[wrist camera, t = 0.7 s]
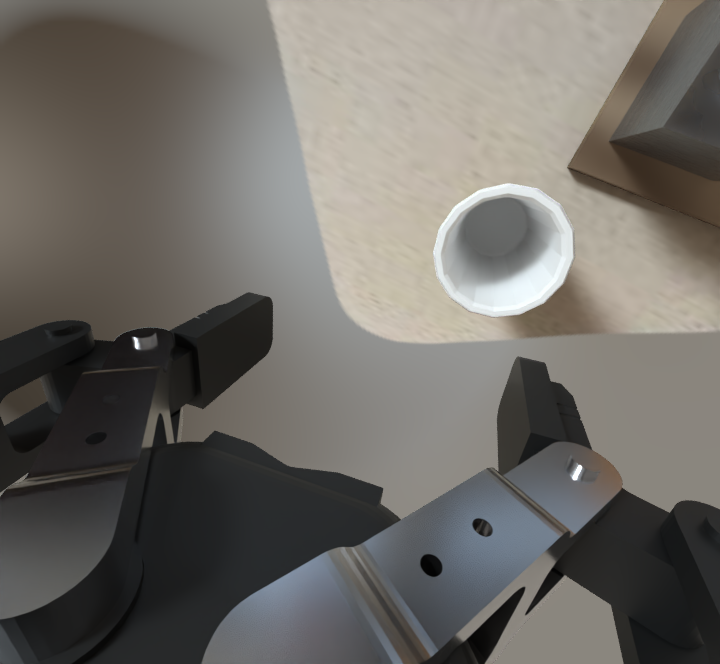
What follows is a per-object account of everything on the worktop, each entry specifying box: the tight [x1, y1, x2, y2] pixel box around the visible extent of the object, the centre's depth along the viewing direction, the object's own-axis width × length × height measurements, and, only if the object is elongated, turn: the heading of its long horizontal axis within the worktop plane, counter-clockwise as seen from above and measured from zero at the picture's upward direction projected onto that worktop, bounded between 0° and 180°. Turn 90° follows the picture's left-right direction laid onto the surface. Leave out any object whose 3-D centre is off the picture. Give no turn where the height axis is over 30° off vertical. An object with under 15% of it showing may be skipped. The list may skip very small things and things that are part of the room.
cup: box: [433, 183, 575, 318], centre depth 28 cm, size 8×8×14 cm
